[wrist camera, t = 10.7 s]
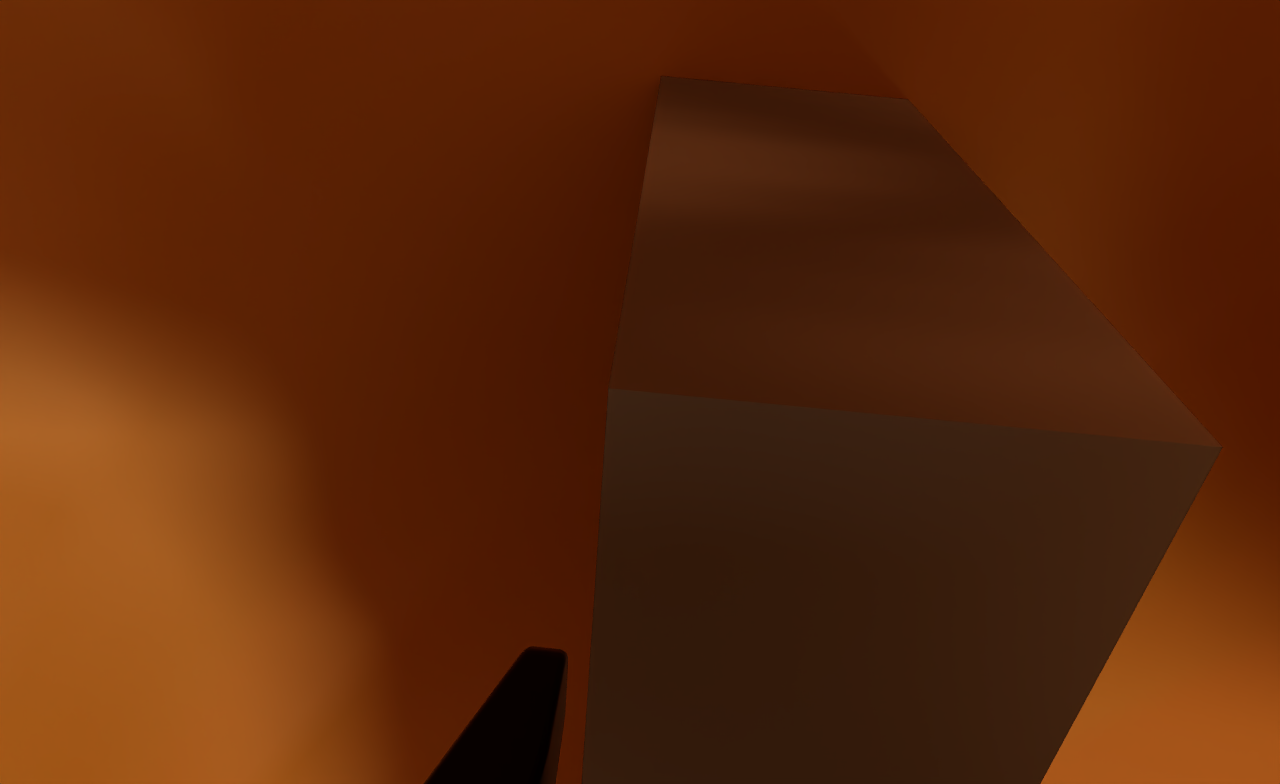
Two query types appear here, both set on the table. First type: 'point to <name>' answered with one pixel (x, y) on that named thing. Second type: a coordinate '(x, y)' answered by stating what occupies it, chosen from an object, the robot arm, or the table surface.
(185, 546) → the table surface
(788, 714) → the brown upright panel
